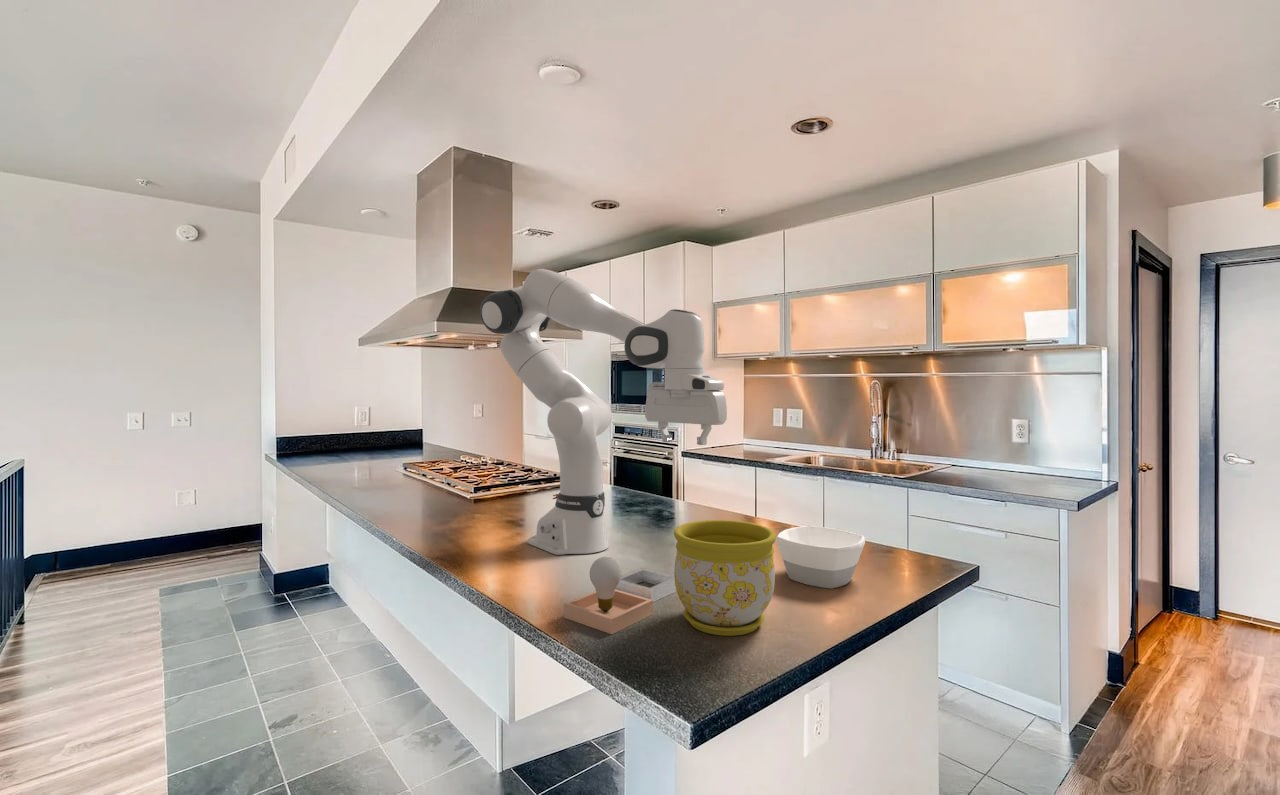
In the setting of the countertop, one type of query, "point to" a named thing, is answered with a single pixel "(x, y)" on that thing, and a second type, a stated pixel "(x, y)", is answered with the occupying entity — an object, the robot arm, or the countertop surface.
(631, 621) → the tray
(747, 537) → the flowerpot
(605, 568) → the light bulb
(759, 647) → the countertop surface
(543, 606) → the countertop surface
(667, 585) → the socket collar
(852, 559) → the bowl
